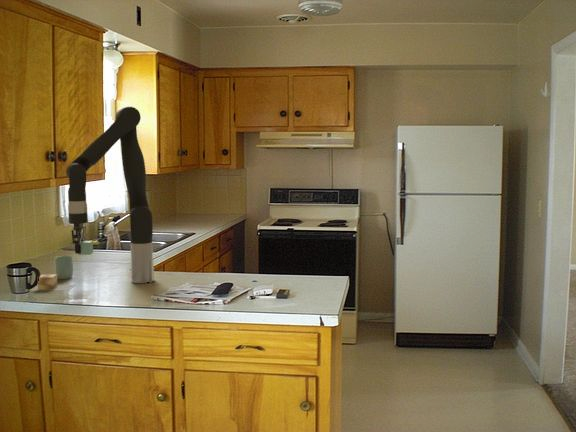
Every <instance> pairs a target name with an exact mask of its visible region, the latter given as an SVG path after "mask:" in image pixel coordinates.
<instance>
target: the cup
mask: <svg viewBox="0 0 576 432" xmlns="http://www.w3.org/2000/svg"><path fill="white" fill-rule="evenodd" d="M54 273H55V274H57V280H68V279H72V278H73V275H74V258H73V256H71V255H61V256H55V257H54Z"/></svg>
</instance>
